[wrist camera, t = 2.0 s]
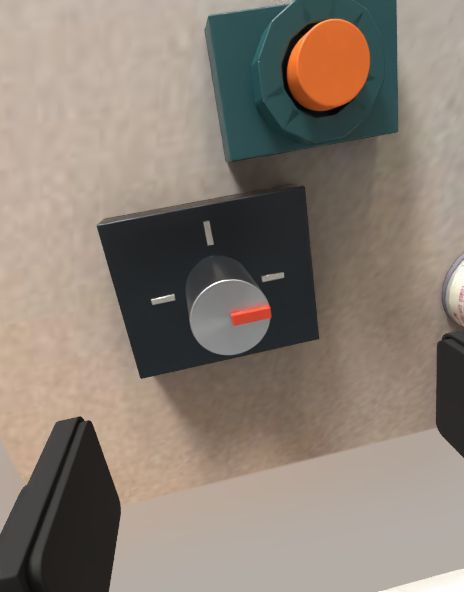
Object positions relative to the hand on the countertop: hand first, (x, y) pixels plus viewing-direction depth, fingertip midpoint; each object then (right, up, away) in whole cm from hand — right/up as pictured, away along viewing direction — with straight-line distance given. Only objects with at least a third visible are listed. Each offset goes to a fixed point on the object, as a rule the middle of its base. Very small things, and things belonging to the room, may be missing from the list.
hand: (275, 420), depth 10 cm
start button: (+3, +15, +9) cm, 18 cm away
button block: (+3, +16, +13) cm, 20 cm away
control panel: (-2, +5, +16) cm, 17 cm away
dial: (-2, +4, +13) cm, 14 cm away
